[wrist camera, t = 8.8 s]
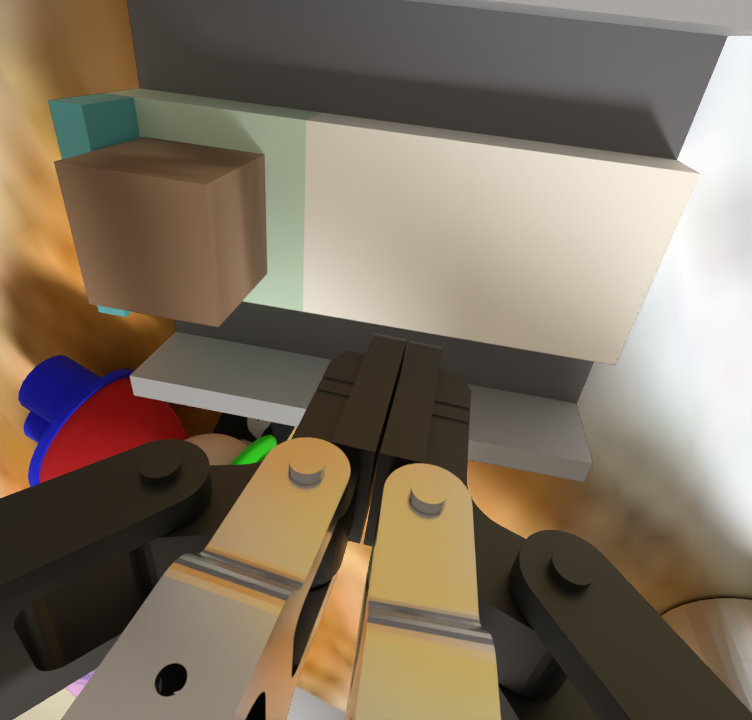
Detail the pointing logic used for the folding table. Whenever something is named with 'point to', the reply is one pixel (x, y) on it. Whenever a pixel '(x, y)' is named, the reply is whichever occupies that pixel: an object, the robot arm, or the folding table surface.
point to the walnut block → (167, 226)
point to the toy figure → (120, 422)
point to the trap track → (428, 189)
